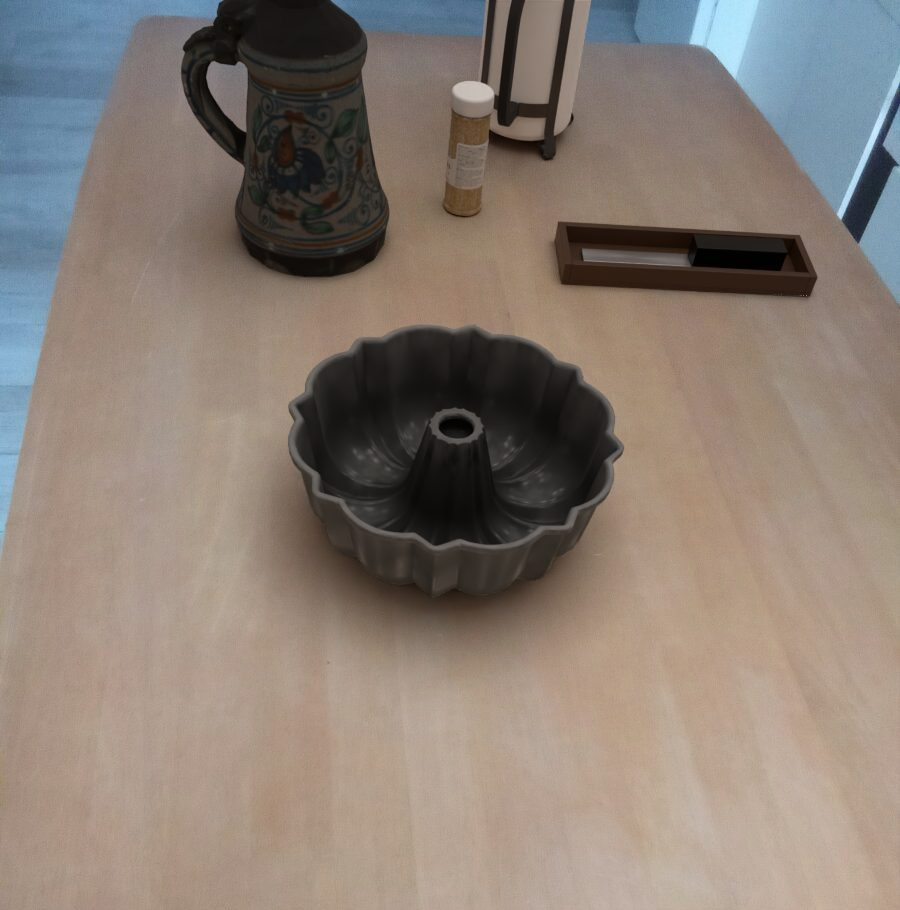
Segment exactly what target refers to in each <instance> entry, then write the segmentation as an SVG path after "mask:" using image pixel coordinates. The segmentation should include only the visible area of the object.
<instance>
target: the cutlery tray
mask: <svg viewBox="0 0 900 910" xmlns="http://www.w3.org/2000/svg"><path fill="white" fill-rule="evenodd" d="M693 234H699V235H717V236H735V237H753V238H771V239H782V240H783V242H784V245H785V247H786V250H787V255H786V258H785V261H784V263H783V266H782V268H781V271H766V270H747V269H729V268H710V267H691V266H673V265H654V264H635V263H617V262H598V261H582V258H581V249H582V248H584V249H602V250H620V251H639V252H657V253H675V254H688V251H689V248H690V244H691V241H692V238H693ZM554 246H555V254H556V258H557V265H558V272H559V277H560V284H561V285H573V286H574V285H576V286H577V285H578V286H593V287H594V286H595V287H613V288H614V287H616V288H617V287H618V288H632V289H633V288H635V289H651V290H653V289H654V290H671V291H690V292H691V291H693V292H712V293H727V294H728V293H729V294H730V293H731V294H750V295H751V294H752V295H767V294H776V295H775V296H786V295H792V296H791V297H794V296H793V295H802V296H801V297H805V296H806V295H807V296H810V297H811V294H812V293H813V290H814V287H815V285H816V283H817V280H818V278H819V277H818V274H817V272H816V270H815V267H814V265H813V262H812V260H811V258H810V256H809V253H808V251H807V248H806V246H805V244H804V241H803V238H802V237H801V234H791V233H789V234H788V233H773V232H772V233H771V232H753V231H734V230H719V229H699V228H698V229H697V228H682V227H665V226H664V227H663V226H648V225H632V224H631V225H629V224H613V223H612V224H611V223H596V222H579V221H577V222H575V221H559V220H558V221H557V224H556V230H555V236H554ZM778 294H779V295H778ZM781 294H782V295H781ZM803 295H804V296H803Z"/></svg>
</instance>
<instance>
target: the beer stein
mask: <svg viewBox="0 0 900 910" xmlns="http://www.w3.org/2000/svg"><path fill="white" fill-rule="evenodd" d="M368 49H369V48H368V39H367V34H366V33H365V31H364V30H363V28H362V26H361V25H360V23H358V22H357V20H356V19H355V18H354V17H352V16H351V15H350V14H349V13H347V12H346V11H345V10H343V9H342V8H341V7H339V6H338V5H337V4H335V2H333V1H332V0H221V1H220V2H218V5H217V9H216V17H215V18H214V20H213V22H212V25H208V26H203V27H202V28H200V29H198V30H196V31H194V33H192V34H191V35H190V37H189V38H188V39H187V40H185V42H184V44H183V46H182V51H183V53H184V54H183V56H182V60H181V65H180V79H181V84H182V90H183V93H184V96H185V99H186V102H187V104H188V105H189V108H190V110H191V112H192V113H193V115H194V118H196V120H197V121H198V123H199V124H200V125H201V127H202V128H203V129H204V130H205V132H206V133H207V134H208V136H210V137H211V139H212V140H213V141H214V142H215V143H216V144H217V145H218V146H219V147H220V148H221V149H222V150H223V151H224V152H225V153H226V154H227V155H229V157H230V158H232V159H234V160H235V161H236V162H238V163H239V164H241V165H242V167H243V168H244V169H243V177H242V180H241V184H240V189H239V191H238V193H237V196H236V199H235V204H234V218H235V221H236V225H237V228H238V230H239V233H240V235H241V240H242V242H243V244H244V246H245V248H246V250H247V252H248V254H249V255H250V256H251V257H252V258H254V259H255V260H256V261H258V262H259V263H261V264H262V265H264V266H265V267H266V268H267V269H271V270H273V271H277V272H280V273H282V274H286V275H291V276H297V277H303V278H304V277H306V278H307V277H309V278H311V277H314V278H315V277H335V276H339V275H344V274H348V273H352V272H353V273H354V272H355V271H356V270H358V269H361V268H362V267H363V266H365V265H367V264H369V263H371V262H373V261H374V260H375V258H376V257H377V256H378V255H379V252H380V251H381V250H382V248H383V246H384V245H385V241H386V233H387V228H388V224H389V220H390V205H389V200H388V198H387V195H386V192H385V191H384V189H383V186H382V184H381V181H380V178H379V173H378V169H377V165H376V159H375V155H374V151H373V143H372V137H371V132H370V124H369V117H368V108H367V107H368V106H367V101H366V95H365V88H364V81H363V68H364V66H365V63H366V60H367V54H368ZM213 62H215V63H217V64H219V65H227V66H233V67H236V66H237V64H238V63H241V64H243V65H244V66H245V68H246V71H247V88H246V89H247V91H246V107H245V108H246V109H245V127H246V128H245V130H246V131H244V130H242V129H241V128H239V127H238V126H237V125H236V124H235V122H234V121H232V119H231V118H229V116H227V115H226V114H225V112H224V111H223V110H222V108H221V107H220V105H219V103H218V102H217V101H216V99H215V97H214V96H213V94H212V92H211V90H210V88H209V82H208V79H207V76H208V71H209V67H210V65H211V64H212V63H213Z"/></svg>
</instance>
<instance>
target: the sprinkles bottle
mask: <svg viewBox="0 0 900 910" xmlns="http://www.w3.org/2000/svg"><path fill="white" fill-rule="evenodd" d="M493 106H494V91H493V89H492V88H491V87H489V86H488V85H486V84H484V83H481V82H478V81H477V80H476V81H475V80H464V81H459V82H458V83H456V84H455V85H453V87H452V88H451V95H450V110H451V115H450V116H451V117H450V128H449V138H448V144H447V145H448V146H447V158H446V167H445V168H446V169H445V186H444V187H445V188H444V189H445V190H444V197H443V200H442V205H443V207H444V209H445V210H446V211H448V212H449V213H451V214H453V215H456V216H463V217H464V216H465V217H467V216H468V217H469V216H473V215H475V214H477V213H479V212H480V211H481V210H482V206H483V204H482V197H483V187H484V183H485V177H486V166H487V158H488V149H489V140H490V138H489V137H490V136H489V133H490V132H489V126H490V116H491V114H492V111H493Z"/></svg>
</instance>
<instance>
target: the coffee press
mask: <svg viewBox="0 0 900 910" xmlns="http://www.w3.org/2000/svg"><path fill="white" fill-rule="evenodd" d="M591 4H592V0H485V6H484V14H483V15H484V16H483V28H482V37H481V46H480V47H481V48H480V58H479V67H478V79H477V82H481V83H484V84H486V85H488V86H489V87H491V88H492V89H493V91H494V106H493V111H492V114H491V116H490V126H489V133H490V132H494V133H495V134H497V135H500V136H502V137H505V138H509V139H512V140H517V141H528V142H529V141H530V142H533V141H534V142H535V143H536V144H537V146H538V150H539V154H540V157H541V158H542V159H543V160H546V159H551V158H556V156H557V147H556V142H555V137H556V136H557V135H559V134H561V133H562V132H563V131H564V130H565V129H566V128H567V127H568V126H570V125H571V124H572V123H573V122H574V120H575V119H574V118H575V116H574V114H573V109H574V108H573V107H574V103H575V96H576V91H577V85H578V79H579V74H580V68H581V62H582V56H583V51H584V45H585V39H586V33H587V28H588V21H589V17H590V9H591Z"/></svg>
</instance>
